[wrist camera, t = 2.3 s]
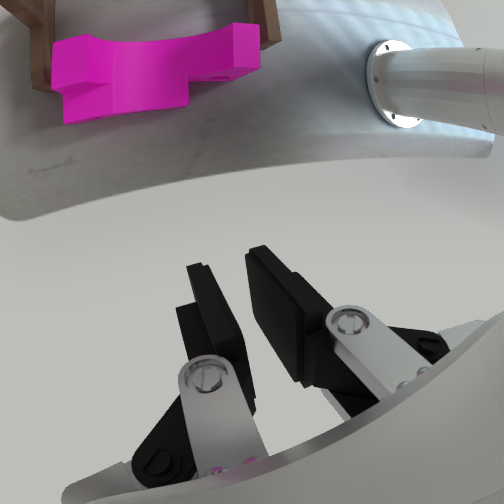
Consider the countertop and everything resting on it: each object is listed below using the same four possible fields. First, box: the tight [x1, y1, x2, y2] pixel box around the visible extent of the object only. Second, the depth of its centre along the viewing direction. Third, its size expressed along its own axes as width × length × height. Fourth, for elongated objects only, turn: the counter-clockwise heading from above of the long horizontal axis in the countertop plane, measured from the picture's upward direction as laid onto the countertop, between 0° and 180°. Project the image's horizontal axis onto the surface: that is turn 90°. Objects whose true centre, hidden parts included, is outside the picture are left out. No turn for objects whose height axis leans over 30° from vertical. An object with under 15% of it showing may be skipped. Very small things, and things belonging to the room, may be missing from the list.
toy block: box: [51, 23, 260, 124], centre depth 18 cm, size 15×6×8 cm, turn 90°
